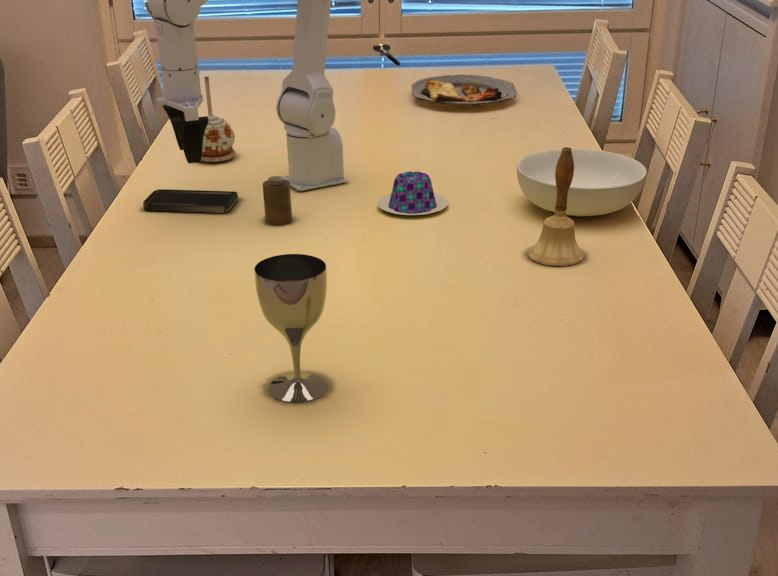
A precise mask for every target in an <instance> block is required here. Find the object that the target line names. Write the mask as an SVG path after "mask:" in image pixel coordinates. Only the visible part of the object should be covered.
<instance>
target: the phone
mask: <svg viewBox="0 0 778 576" xmlns="http://www.w3.org/2000/svg"><path fill="white" fill-rule="evenodd" d="M238 193H239V192H238V191H234V190H233V191H232V190H231V191H230V190H228V191H227V190H226V191H225V190H201V189H200V190H198V189H197V190H196V189H166V188H164V189H163V188H159V189H155V190H153V191H152V192H151V193H150V194H149V195H148V196H147V197H146V199H145V200H143V201H142V206H143V210H144V211H148V212H149V211H150V212H153V211H154V212H177V213H179V212H180V213H181V212H182V213H209V214H225V213H229V212H230V211H231V210H232V208H234V206H235V205H236V203H237V202H238V201H239V194H238Z"/></svg>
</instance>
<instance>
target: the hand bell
mask: <svg viewBox="0 0 778 576" xmlns="http://www.w3.org/2000/svg"><path fill="white" fill-rule="evenodd" d="M561 149H562V152H561V155H560V157H559V159H558V162H557V165H556V171H555V181H556V187H557V198H556V206H555V211H554V212H553V215H551V216H548V217H547V218H545V219H544V221H543V226H542V228H541V232H540V235H539V237H538V240H537V241H536V243H534V244H533V245H532V246H531V247H530V248H529V250H528V251H527V256H528V258H529V259H530V260H531V261H533V262H536V263H538V264H541V265H546V266H552V267H565V266H566V267H568V266H573V265H577V264H579V263H580V262H582V261H583V260H584V258H585V254H584V252H583V250H582V249H581V248H580V247H579V245H578V243H577V240H576V233H575V221H574V220H573V219H572V218H570V217H569V216H568V215H566V210H567V196H568V190H569V188H570V185H571V182H572V179H573V174H574V161H573V156H572V149H573V148H572V147H568V146H566V147H565V146H564V147H562V148H561Z"/></svg>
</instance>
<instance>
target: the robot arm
mask: <svg viewBox="0 0 778 576" xmlns="http://www.w3.org/2000/svg"><path fill="white" fill-rule="evenodd" d="M208 2H209V0H146V1H145V2H144V7H145V10H146V13H147V14H148V15H149V16H150V17H151V19H152V20H153V23H154V29H155V30H154V31H155V32H156V39H157V41H156V42H157V48H158V49H157V50H158V55H159V63H160V72H161V77H162V78H161V79H162V86H163V93H164V96H161V97H157V99H156V100H157V103H158V105H161V106H162V108H163V110H164V111H165V113H166V115H167V117H168V118H169V121H170V123H171V127H172V130H173V133H174V136H175V140H176V143H177V145H178V149H179V150H180V151H183V155H184V157H185V160H186V162H187V164H195V163H196V164H197V163H201V162H202V161H201V158H202V146H203V138H204V133H205V130H206V127H207V125H208V121H209V119H208V117H207V116H208V115H204V116H205V117H204V116H199V110H198V109H199V107H200V106H201V105H202V103H203V102H204V96H203V94H202V87H201V81H200V80H201V78H200V70H199V62H198V61H199V60H198V52H197V44H196V33H195V27H194V23H195V22H196V20H197V18H198V16H199V14H200V9H201V8H202V6H204V5H205V4H206V3H208ZM331 4H332V0H297V1H296V15H295V16H296V17H295V28H294V39H293V40H294V41H293V53H292V65H291V66H292V67H291V71H290V72H289V73H288V74H287V75H286V76H285V78H284V79H282V84H281V85H282V86H281V90H280V91H281V92H280V94H279V96H278V98H277V101H276V103H275V104H276V106H275V110H276V115H277V117H278V120H279V121H280V122H281V123H283V127H284V130H285V132H286V149H287V150H286V151H287V162H288V163H287V166H288V168H287V169H288V175H284V176H282V177H283V179H284V180H288V181H289V182H290V188H293V189H294V190H296V191H298V192H303V191H308V190H315V189H319V188H324V187H330V186H335V185H339V184H340V185H341V184H344V183H346V182H347V179H345V172H344V168H345V167H344V145H343V140H342V137H341V134H340V133H339V131H338V130H337V129H336V128H334V127H333V125H334V123H335V120H336V107H335V106H336V105H335V103H334V88H333V86H332V85H331V84H330V82H329V80H328V79H327V77H326V75H325V70H326V69H325V68H326V60H327V59H326V57H327V48H328V37H329V27H330V16H331V6H332V5H331Z"/></svg>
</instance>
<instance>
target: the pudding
mask: <svg viewBox="0 0 778 576" xmlns="http://www.w3.org/2000/svg"><path fill="white" fill-rule="evenodd" d="M376 205H377V207H378V208H379V209H380V210H382V211H384V212H387V213H391V214H396V215H402V216H403V215H404V216H422V215H428V214H429V215H430V214H432V213H437V212H441V211H442V210H444V209H445V208H447V207H448V205H449V200H448V199H447V198H446V196H443V195H441V194H438V193H435V192H434V188H433V183H432V179H431V177H430V175H429V174H428V173H426V172H421V171H404V172H400V173H398V174H397V175H396V176H395V178H394V180H393V185H392V190H391V192H390V193H388V194H385V195H383V196H381V197H380V198H379V199H377V201H376Z"/></svg>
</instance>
